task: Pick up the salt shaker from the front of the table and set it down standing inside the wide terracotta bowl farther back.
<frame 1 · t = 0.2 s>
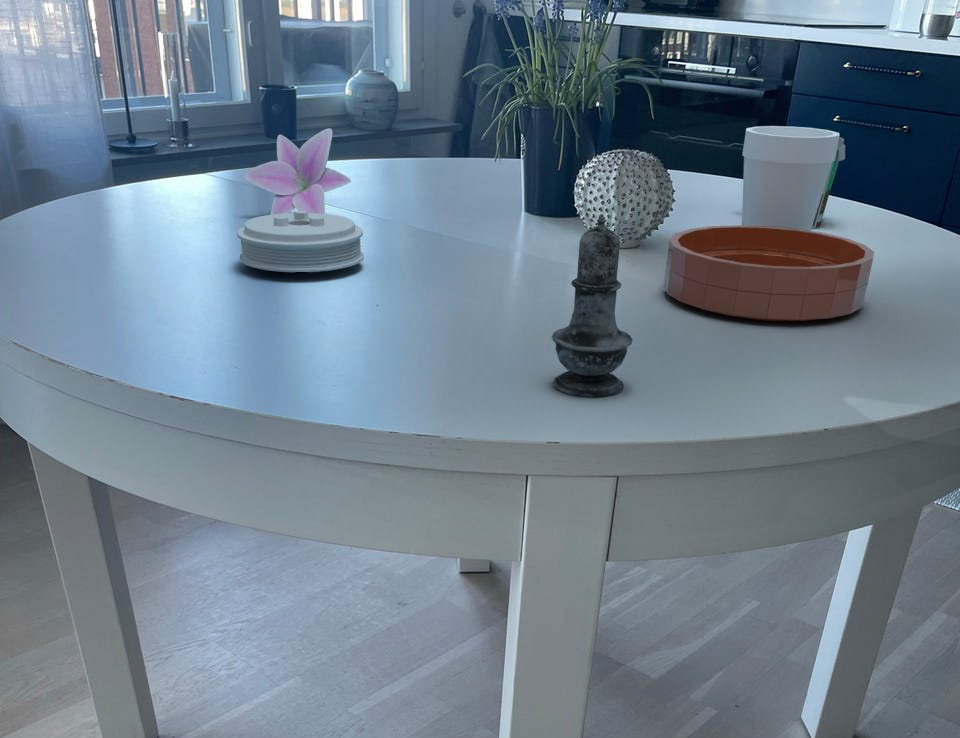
lily: (302, 221, 126), on the table
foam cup: (769, 265, 111), on the table
bowl: (761, 299, 98), on the table
food container: (793, 221, 132), on the table
lid: (303, 269, 105), on the table
salt shaker: (588, 387, 76), on the table
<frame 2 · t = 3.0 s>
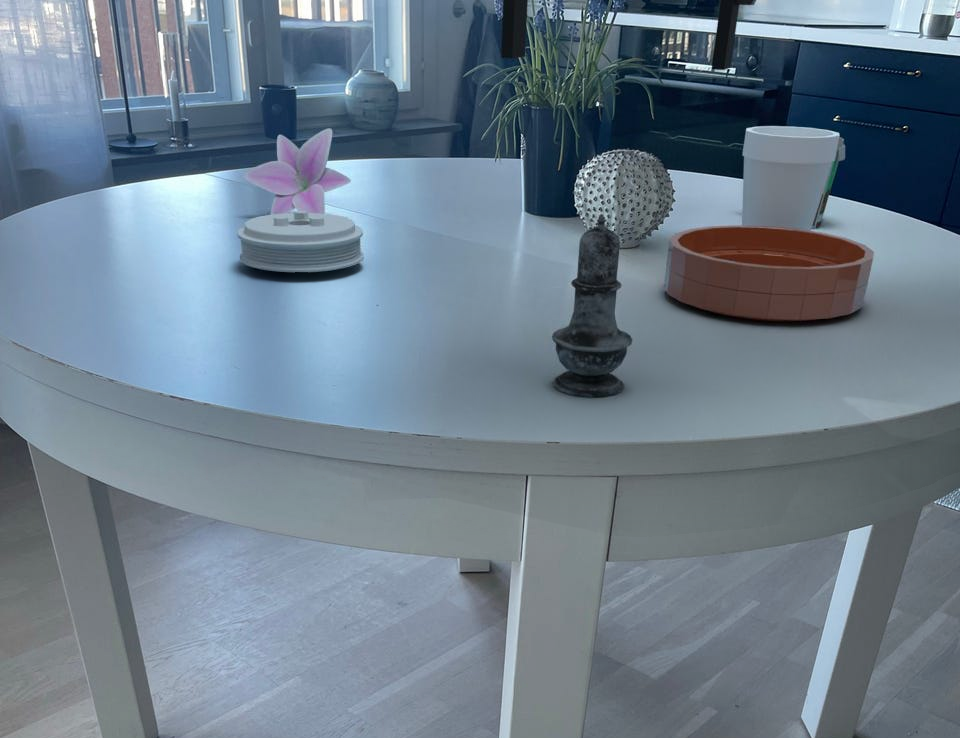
hand: (614, 63, 65), 21 cm above the table, tool pointing down, fingers open, 13 cm apart
nothing on the table moved.
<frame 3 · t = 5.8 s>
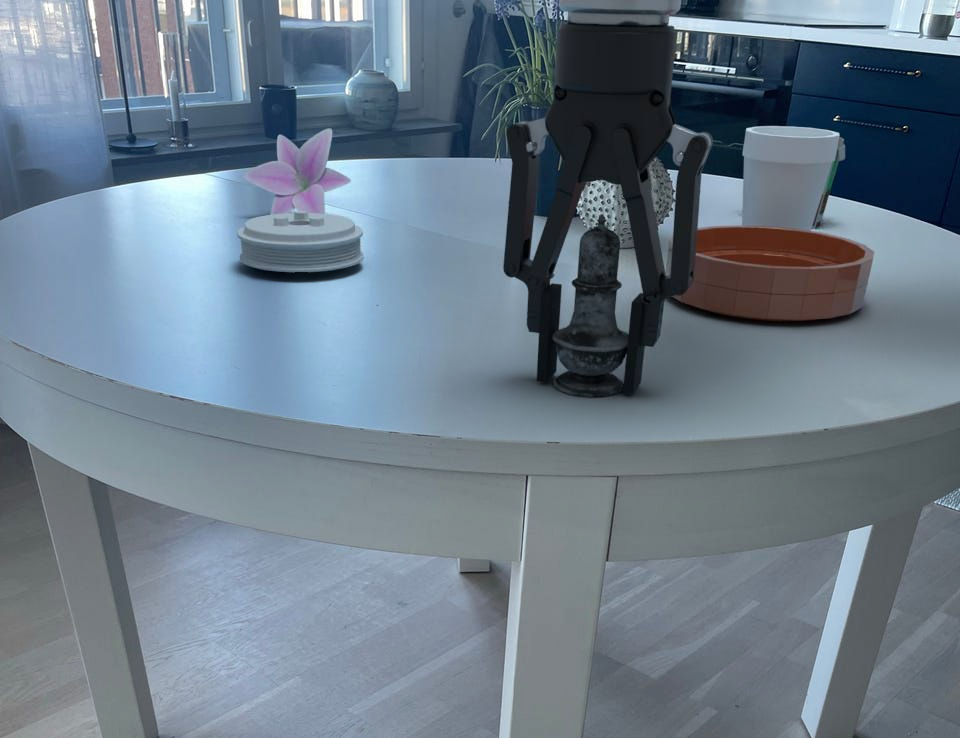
hand: (588, 381, 76), 0 cm above the table, tool pointing down, fingers closed on salt shaker, 6 cm apart
salt shaker: (588, 387, 76), on the table, touching gripper
everything else where it was.
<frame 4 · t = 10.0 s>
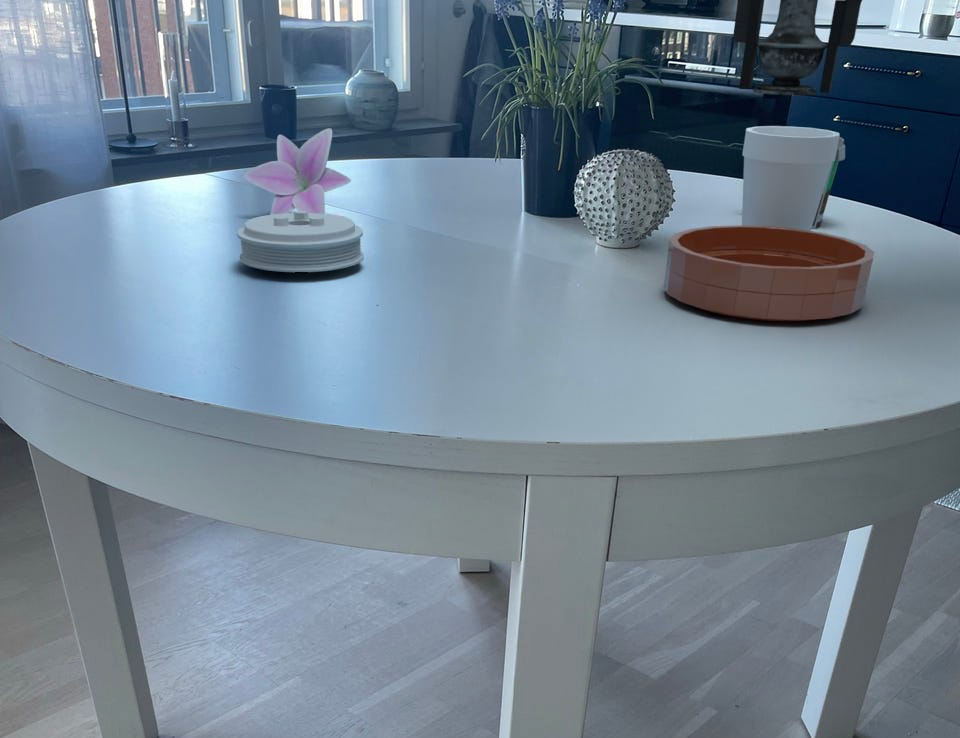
hand: (784, 89, 86), 18 cm above the table, tool pointing down, fingers closed on salt shaker, 6 cm apart
salt shaker: (784, 95, 86), point 18 cm above the table, touching gripper
everything else where it was.
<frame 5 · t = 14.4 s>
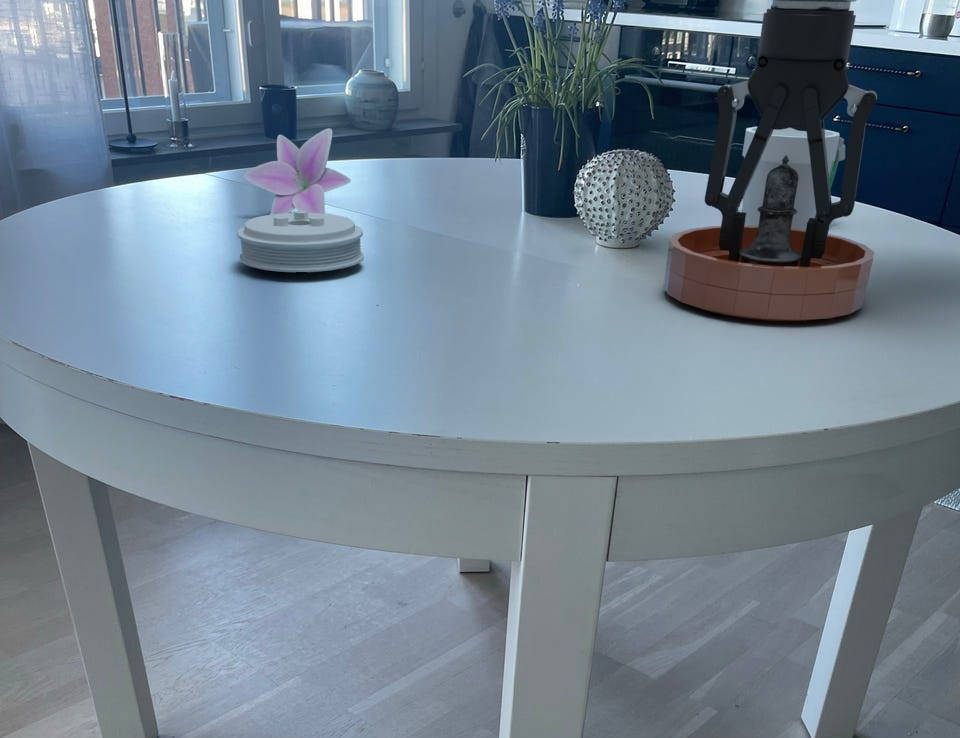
hand: (764, 289, 97), 1 cm above the table, tool pointing down, fingers closed on salt shaker, 6 cm apart
salt shaker: (763, 294, 98), point 1 cm above the table, touching gripper
everything else where it was.
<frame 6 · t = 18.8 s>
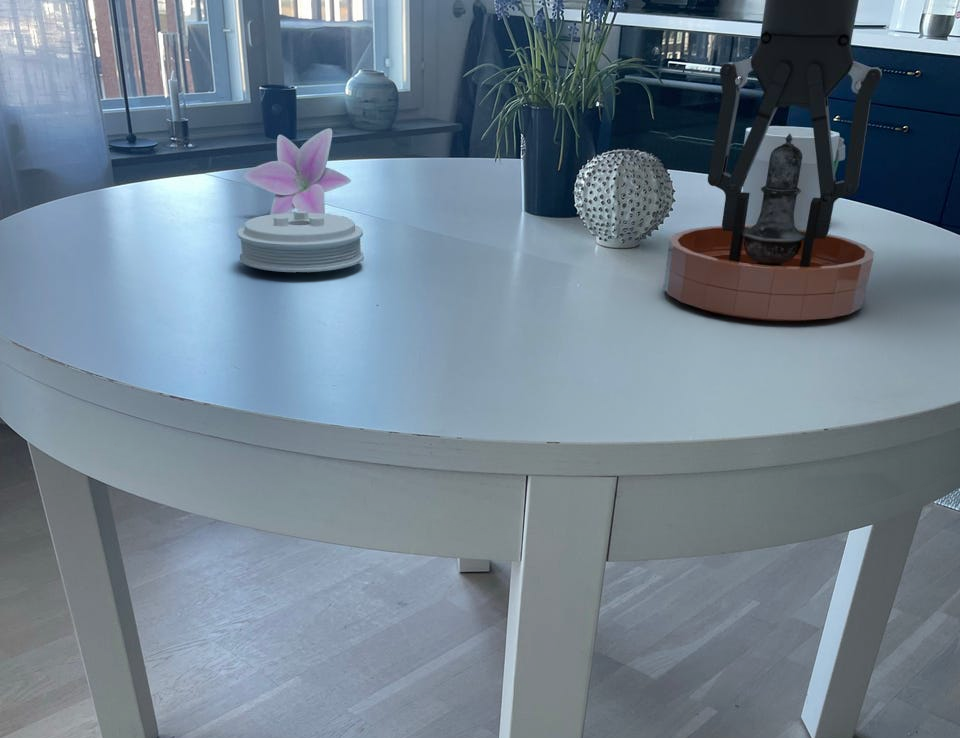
hand: (767, 270, 96), 3 cm above the table, tool pointing down, fingers closed on salt shaker, 6 cm apart
salt shaker: (767, 275, 97), point 2 cm above the table, touching gripper
everything else where it was.
when the fingers open (3 cm above the table, at t = 22.7 s): salt shaker drops 2 cm, resting on bowl.
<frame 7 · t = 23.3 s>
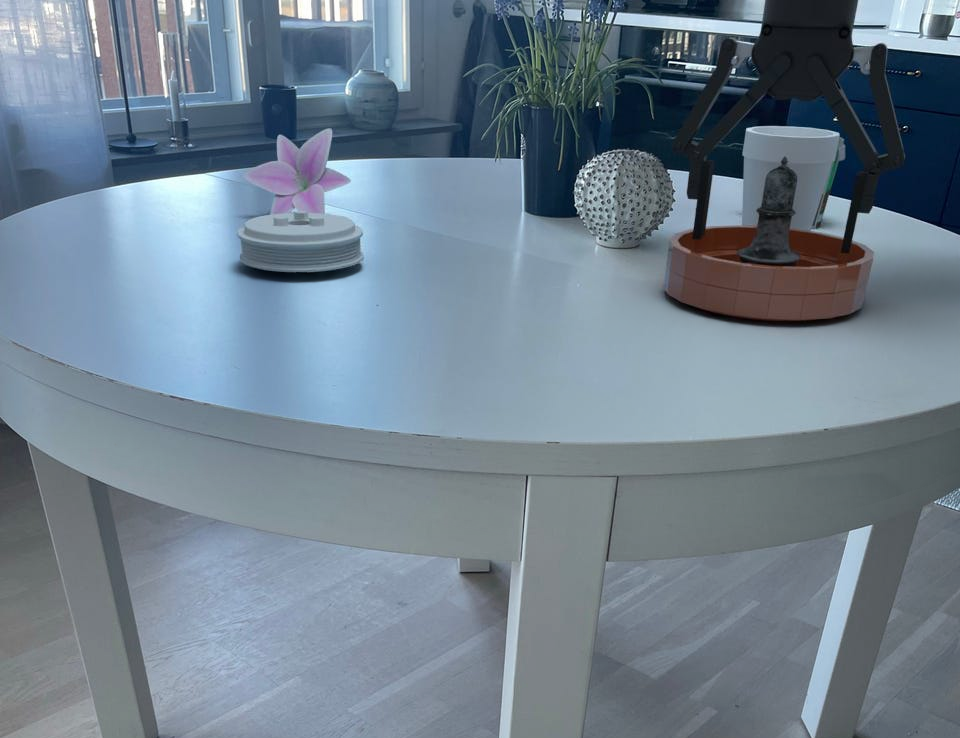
hand: (770, 243, 95), 5 cm above the table, tool pointing down, fingers open, 13 cm apart
salt shaker: (762, 295, 98), resting on bowl
everything else where it was.
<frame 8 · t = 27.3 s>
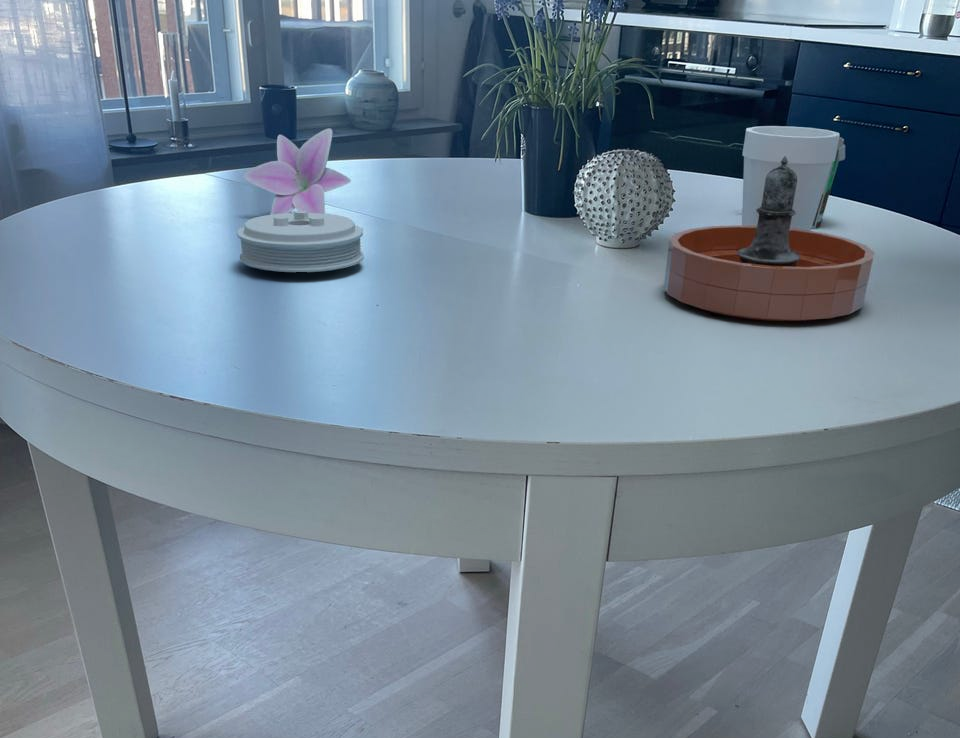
nothing on the table moved.
at the end: salt shaker inside the target area in the bowl (0.0 cm from its centre), point 0.4 cm above the bowl's base; salt shaker tilted 0°; the gripper is holding nothing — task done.
